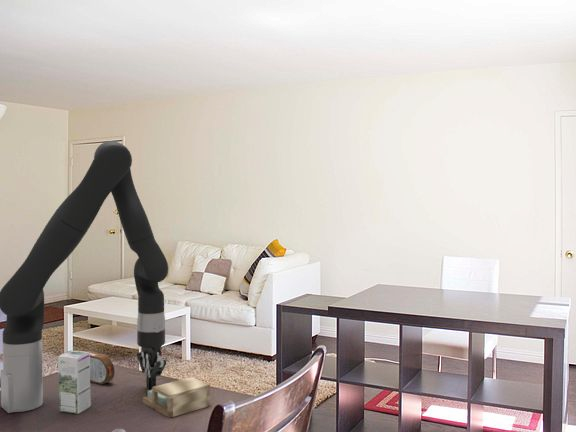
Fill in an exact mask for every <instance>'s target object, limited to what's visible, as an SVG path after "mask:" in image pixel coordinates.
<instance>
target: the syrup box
mask: <svg viewBox="0 0 576 432" xmlns="http://www.w3.org/2000/svg"><path fill="white" fill-rule="evenodd" d="M57 361H58V365H57V367H58V368H57V369H58V370H57V371H58V375H57V376H58V412H60V413H69V414H75V415H76V414H77V415H78V414H80V413H82V412H84V411H86V410H87V409H89V408H91V406H92V401H91V400H92V399H91V381H90V352H83V351H81V350H69V351H65V352H64V353H62V354H59V355H58V357H57Z"/></svg>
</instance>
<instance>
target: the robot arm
mask: <svg viewBox="0 0 576 432" xmlns="http://www.w3.org/2000/svg"><path fill="white" fill-rule="evenodd" d="M132 162H133V158H132V154H131V152H130V150H129V149H128V147H127V146H125V145H124V144H123V143H121V142H119V141H115V140H114V141H113V140H110V141H108V140H107V141H105V142H102V143H101V144H100V145H99V146H98V147H97V148H96V149H95V152H94V155H93V160H92V162H91V164H90V166H89V168H88V169H87V171H86V173H85V174H84V177H83V179H82V180H81V181H80V183H79V184H78V185H77V187H76V188H75V189H74V190H73V191H72V192H71V193H70V194H69V195H68V196H67V197H66V198H65V199H64V200H63V201H62V203H61V204H60V205H59V206H58V207H57V209H56V210H55V212H54V213H53V214H52V216H51V218H49V220H48V222H47V223H46V225H45V227H43V229H42V232H41V233H40V235H38V238H37V239H36V241H35V243H34V245H33V246H32V248H31V250H30V251H29V253H28V255H27V256H26V259H25V260H24V262H22V264H21V265H20V267H18V269H17V270H16V272H15V273H14V274H13V275H12V276H11V277H10V279H8V281H7V282H6V283H5V284H4V285H3V287H2V288H1V289H0V311H1V312H2V313H3V314H5V315H6V320H5V325H4V327H3V331H2V370H0V407H1V408H2V409H3V410H4V411H6V413H8V414H11V413H22V412H23V413H24V412H28V411H31V410H36V409H38V408H39V407H42V405H43V404H44V400H43V397H44V393H43V391H44V389H43V388H44V387H43V331H44V330H43V329H44V325H45V324H44V323H45V292H44V288H45V286H46V284H47V283H48V282H49V280H50V278H51V277H52V275H53V274H54V273H55V271H56V270H57V269H58V268H59V267H60V266H61V265H62V264H63V263H64V262H65V261H66V260H67V259H68V257H70V255H71V254H72V253H73V251H74V250H75V249H76V248H77V246H78V245H79V244H80V243H81V242H82V240H83V238H84V237H85V235H86V234H87V232H88V230H89V228H91V225H92V224H93V222H94V220H95V219H96V218H97V215H98V214H99V212H100V210H101V208H102V206H103V205H104V203H105V200H106V199H107V198H108V196H109V195H110V194H111V195H112V198H113V200H114V204H115V206H116V210H117V213H118V217H119V220H120V224H121V227H122V230H123V232H124V236H125V239H126V240H127V244H128V246H129V248H130V250H131V251H132V252H134V253H135V254H136V255H137V257H138V258H137V260H136V261H135V262H134V267H133V277H134V283H135V288H136V292H137V297H138V298H137V299H138V300H137V313H138V314H137V319H136V320H137V321H136V325H137V326H136V329H137V330H136V336H137V337H136V339H137V340H136V344H137V346H139V347H140V350H141V351H138V352H136V357H137V360H138V362H139V363H138V364H139V366H140V370H141V372H142V373H144V376H145V377H146V379H145V384H146V387H145V389H146V390H147V391H148V390H152V387H154V386H157V376H159V377H160V376H162V373H163V371H164V369H165V367H166V365H167V360H166V359H163V358H162V353H163V352H162V349H161V347H163V346H164V345H165V344H166V316H165V295H164V292H163V291H162V290H161V289H160V286H159V283H161V282H162V281H164V280H165V279H167V277H168V274H169V263H168V261H167V259H166V256H165V254H164V252H163V251H162V249H161V247H160V245H159V244H158V242H157V241H156V239H155V236H154V233H153V230H152V227H151V223H150V222H149V218H148V215H147V213H146V211H145V209H144V207H143V205H142V202H141V199H140V197H139V195H138V193H137V190H136V187H135V183H134V180H133V175H132V170H131V167H132V164H133V163H132Z"/></svg>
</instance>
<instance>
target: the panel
mask: <svg viewBox="0 0 576 432" xmlns="http://www.w3.org/2000/svg"><path fill="white" fill-rule="evenodd" d="M147 397H148V398H150V399H152V390H147ZM158 403H159V404H161V405H163V406H165V407H167V397H165V396H163V395H161V394H159V393H158Z"/></svg>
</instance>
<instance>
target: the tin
mask: <svg viewBox="0 0 576 432" xmlns="http://www.w3.org/2000/svg"><path fill="white" fill-rule="evenodd" d="M82 352H90V383H91V382H92V383H94V384H97V385H104V384H106V383H109V382H111V381H113V379H114V377H115V367H114V363H113V361H112V359H111V358H110V357H109V356H108V355H107V354H104V353H100V352H96V351H92V350H89V349H88V350H84V351H82Z"/></svg>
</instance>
